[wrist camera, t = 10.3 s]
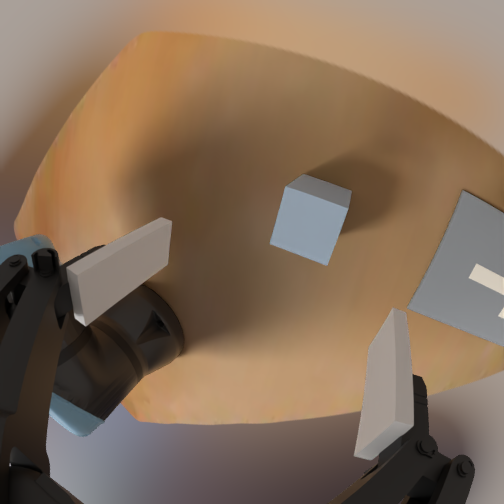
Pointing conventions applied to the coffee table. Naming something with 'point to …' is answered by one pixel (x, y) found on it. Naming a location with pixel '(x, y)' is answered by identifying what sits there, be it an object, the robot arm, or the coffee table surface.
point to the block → (311, 218)
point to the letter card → (467, 273)
